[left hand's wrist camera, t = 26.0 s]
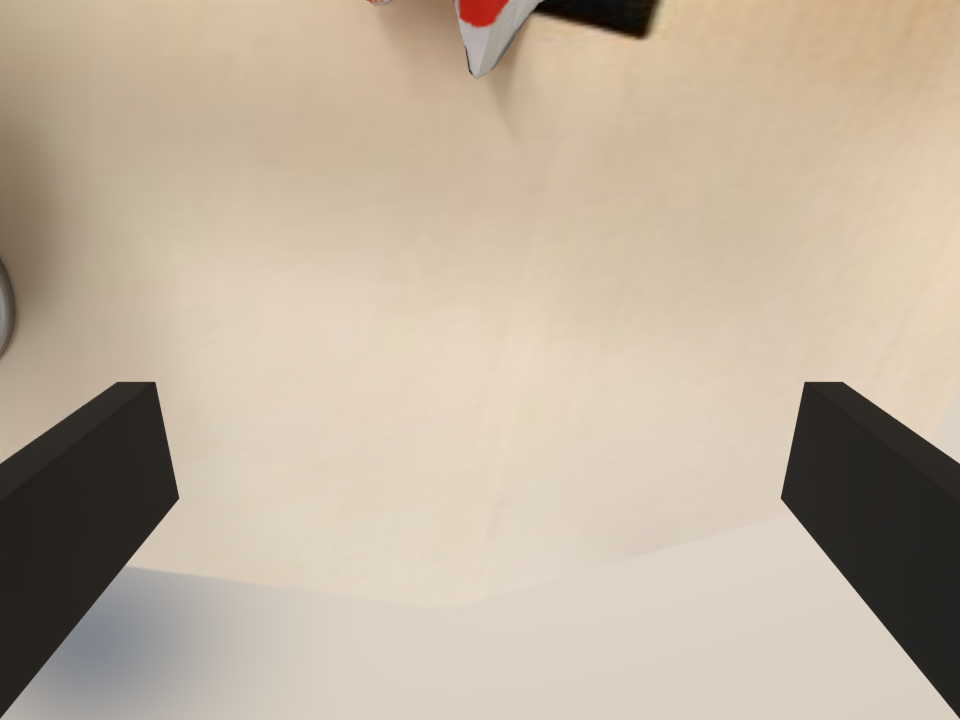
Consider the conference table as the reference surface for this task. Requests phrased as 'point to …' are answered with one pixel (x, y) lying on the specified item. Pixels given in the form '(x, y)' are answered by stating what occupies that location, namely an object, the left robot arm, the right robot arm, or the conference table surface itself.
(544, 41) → the conference table surface
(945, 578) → the left robot arm
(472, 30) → the fish
